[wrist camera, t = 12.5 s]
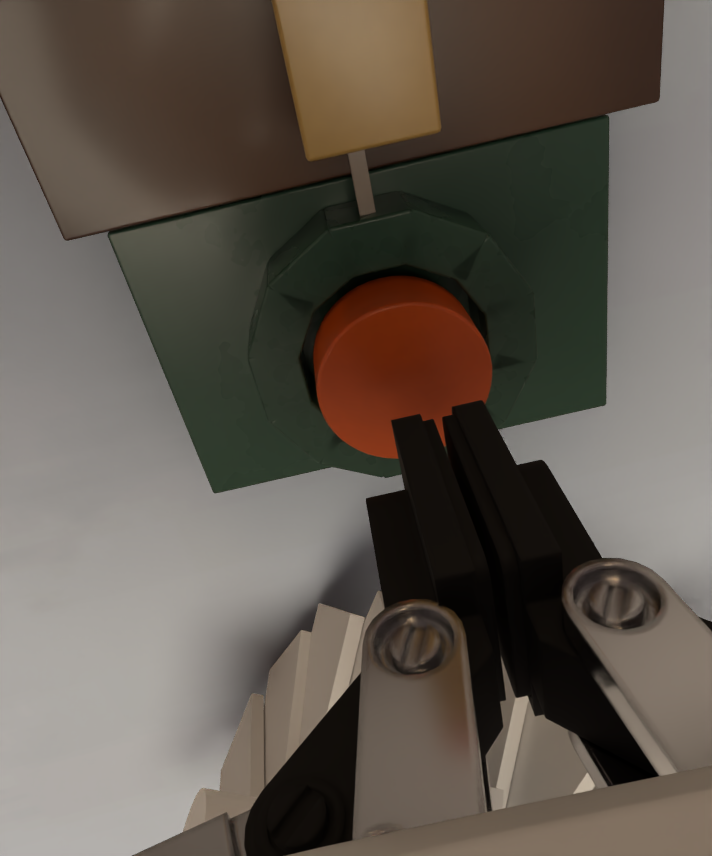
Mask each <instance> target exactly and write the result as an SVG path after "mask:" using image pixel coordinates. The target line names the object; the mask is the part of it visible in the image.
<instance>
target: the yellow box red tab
mask: <svg viewBox="0 0 712 856" xmlns="http://www.w3.org/2000/svg"><path fill="white" fill-rule="evenodd" d="M271 2H272V7H273V11H274V16H275V20H276V25H277V29H278V34H279V38H280V43H281V47H282V52H283V56H284V61H285V66H286V70H287V75H288V79H289V84H290V88H291V93H292V97H293V102H294V106H295V111H296V115H297V120H298V124H299V129H300V134H301V138H302V143H303V147H304V152H305V156H306V159H307V160H308V161H310V162H313V161H317V160H321V159H326V158H330V157H335V156H339V155H344V154H348V153H352V152H357V151H361V150H366V149H370V148H374V147H379V146H383V145H388V144H392V143H397V142H401V141H405V140H410V139H414V138H419V137H423V136H428V135H432V134H436V133H438V132H440V131H441V119H440V110H439V101H438V92H437V83H436V74H435V65H434V56H433V47H432V38H431V29H430V20H429V11H428V2H427V0H271Z"/></svg>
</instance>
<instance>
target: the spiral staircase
mask: <svg viewBox="0 0 712 856" xmlns="http://www.w3.org/2000/svg"><path fill="white" fill-rule="evenodd" d="M384 609H385V608H384V602H383V596H382V591H377V594H376V596H375V598H374V601H373V603H372V605H371V607H370V610H369V612H368V614H367V617H366V619H365V621H364V618H365V617H362V616H359V615H356V614H353V613H350V612H347V611H344V610H341V609H338V608H335V607H332V606H328V605H324V604H320V603H319V605H318V609H317V613H316V617H315V621H314V625H313V629H312V632H307V631H303V630H301V631H300V632H299V634H298V635H297V636H296V637H295V639H294V640H293V641H292V642H291V644H290V645H289V646H288V647H287V649H286V650H285V651H284V652H283V654H282V655H281V656H280V657H279V659H278V660H277V661H276V662H275V664H274V665H273V666H272V667H271V669H270V670H269V677H268V684H267V690H266V697H265V704H264V703H263V695H259V694H254V693H252V694H251V696H250V699H249V701H248V704H247V706H246V709H245V711H244V714H243V716H242V719H241V721H240V724H239V726H238V729H237V731H236V734H235V736H234V739H233V742H232V744H231V747H230V749H229V752H228V754H227V757H226V759H225V762H224V764H223V767H222V769H221V778H220V791H218V790H212V789H206V788H202V789H200V790H199V792H198V793H197V795H196V797H195V799H194V801H193V804H192V806H191V809H190V812H189V814H188V817H187V820H186V823H185V827H184V830H183V832H184V831H187V830H189V829H191V828H193V827H195V826H197V825H200V824H202V823H204V822H206V821H208V820H210V819H213V818H215V817H217V816H219V815H221V814H223V813H226V812H227V813H228V815H229V816H230V818H233V817H235V816H237V815H239V814H241V813H244V812H246V811H248V810H250V809H251V807H252V806H253V804H254V803H255V801H256V800H257V798H258V796H259V795H260V793H261V792H262V790H263V789H264V788H265V787H266V786H267V784H268V783H269V782H270V781H271V780H272V778H273V777H274V776H275V775H276V774H277V772H278V771H279V770H280V769H281V768H282V766H283V765H284V764H285V763H286V762H287V760H288V759H289V758H290V757H291V756H292V754H293V753H294V752H295V751H296V750H297V748H298V747H299V746H300V745H301V744H302V742H303V741H304V740H305V739H306V738H307V736H308V735H309V734H310V733H311V732H312V730H313V729H314V728H315V727H316V726H317V724H318V723H319V722H320V721H321V720H322V718H323V717H324V716H325V715H326V714H327V712H328V711H329V710H330V709H331V708H332V706H333V705H334V704H335V703H336V702H337V700H338V699H339V698H340V697H341V696H342V694H343V693H344V692H345V691H346V690H347V688H348V687H349V686H350V685H351V684H352V682H353V681H354V680H355V679H356V678H357V676H358V675H359V674H360V673H361V663H362V644H363V639H364V635H365V631H366V629H367V628H368V626H369V624H370V623H371V621H372V620H373V618H375V617H376V616H377V615H378V614H379V613H380V612H381V611H382V610H384ZM501 662H502V670H503V678H504V686H505V694H506V700H505V701H501V702H500V704H501V712H502V719H503V729H502V730H501V732H500V733H499V735H498V737H497V738H496V740H495V741H494V743H493V745H492V746H491V748H490V749H489V751H488V753H487V754H486V759H487V765H488V773H489V782H490V790H491V799H492V807H493V811H494V810H499V809H503V808H508V807H513V806H518V805H523V804H528V803H532V802H537V801H542V800H547V799H552V798H557V797H561V796H566V795H571V794H576V793H581V792H585V791H590V790H595V789H597V788H596V786H595V784H594V782H593V781H592V779H591V777H590V776H589V774H588V772H587V770H586V769H585V767H584V765H583V763H582V762H581V760H580V758H579V756H578V755H577V753H576V751H575V750H574V748H573V746H572V743H571V741H570V738H569V735H568V730H567V729H565V728H563V727H561V726H559V725H557V724H555V723H553V722H552V721H550V720H548V719H546V718H545V716H544V715H539V716H535V715H534V712H533V710H532V707H531V704H530V701H529V699H528V696H524V697H520V698H516V697H515V695H514V692H513V689H512V687H511V684H510V681H509V678H508V675H507V672H506V669H505V666H504V663H503V660H502V657H501Z"/></svg>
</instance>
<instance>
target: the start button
mask: <svg viewBox="0 0 712 856" xmlns="http://www.w3.org/2000/svg"><path fill="white" fill-rule="evenodd" d="M313 364H314V373H315V382H316V392H317V398H318V403H319V407H320V410H321V412H322V415H323V417H324V419H325V421H326V422H327V424H328V425H329V427H330V428H331V429H332V431H333V432H334V433H335V434H336V435H337V436H338V437H339V438H340V439H342V440H343V441H344V442H346V443H347V444H348V445H350V446H352V447H353V448H355V449H357V450H359V451H361V452H364V453H366V454H369V455H373V456H376V457H383V458H393V459H399V458H398V453H397V448H396V444H395V439H394V434H393V429H392V424H391V420H394V419H398V418H403V417H407V416H412V415H416V414H420V415H421V417H422V420H423V421H426V420H430V419H434V421H435V424H436V427H437V429H438V432H439V435H440V437H441V440H442V442H443V445H444V446H446V443H445V436H444V430H443V423H442V417H444V416H448V415H452V406H457V405H461V404H465V403H470V402H474V401H479V400H482V401H483V402H484V404H485V403H486V401H487V398H488V395H489V392H490V388H491V382H492V362H491V356H490V353H489V350H488V347H487V344H486V342H485V340H484V338H483V337H482V335H481V333H480V332H479V330H478V329H477V327H476V326H475V324H474V322H473V321H472V319H471V318H470V316H469V315H468V313H467V312H466V310H465V309H464V307H463V306H462V304H461V303H460V302H459V301H458V300H457V299H456V297H455V296H454V295H453V294H451V293H450V292H449V291H447V290H446V289H445V288H443V287H441V286H440V285H438V284H436V283H434V282H431V281H429V280H426V279H422V278H418V277H413V276H388V277H382V278H378V279H375V280H371V281H368V282H366V283H364V284H361V285H359V286H357V287H356V288H354V289H352V290H351V291H349V292H348V293H346V294H345V295H344V296H343V297H341V298H340V299H339V300H338V301H337V302H336V303H335V304H334V305H333V306H332V307H331V309H330V310H329V311H328V313H327V314H326V315H325V317H324V319H323V321H322V322H321V324H320V326H319V329H318V331H317V334H316V338H315V342H314V349H313Z"/></svg>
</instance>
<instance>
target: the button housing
mask: <svg viewBox="0 0 712 856" xmlns="http://www.w3.org/2000/svg"><path fill="white" fill-rule="evenodd" d="M368 171H369V177H370V182H371V188H372V193H373V199H374V204H375V210H376V212H375V213H371V214H367V215H362V216H360V215H359V211H358V206H357V200H356V195H355V190H354V185H353V180H352V175H351V174H349V175H345V176H341V177H337V178H332V179H328V180H324V181H320V182H315V183H311V184H307V185H303V186H298V187H294V188H290V189H286V190H281V191H277V192H273V193H269V194H264V195H260V196H256V197H252V198H247V199H243V200H239V201H235V202H230V203H226V204H222V205H218V206H213V207H209V208H205V209H201V210H196V211H192V212H188V213H184V214H179V215H175V216H171V217H167V218H162V219H158V220H154V221H150V222H146V223H141V224H137V225H133V226H129V227H124V228H120V229H116V230H112V231H109V232H108V238H109V240H110V243H111V245H112V248H113V250H114V253H115V255H116V257H117V260H118V262H119V265H120V267H121V270H122V272H123V274H124V277H125V279H126V282H127V284H128V287H129V289H130V291H131V294H132V296H133V299H134V301H135V304H136V306H137V308H138V311H139V313H140V316H141V318H142V321H143V323H144V325H145V328H146V330H147V333H148V335H149V338H150V340H151V342H152V345H153V347H154V350H155V352H156V355H157V357H158V359H159V362H160V364H161V367H162V369H163V372H164V374H165V376H166V379H167V381H168V384H169V386H170V389H171V391H172V393H173V396H174V398H175V401H176V403H177V406H178V408H179V410H180V413H181V415H182V418H183V420H184V423H185V425H186V427H187V430H188V432H189V435H190V437H191V440H192V442H193V444H194V447H195V449H196V452H197V454H198V457H199V459H200V461H201V464H202V466H203V469H204V471H205V474H206V476H207V478H208V481H209V483H210V486H211V488H212V491H213V492H214V493H219V492H224V491H228V490H233V489H237V488H242V487H246V486H250V485H255V484H259V483H264V482H268V481H272V480H277V479H281V478H286V477H290V476H295V475H299V474H303V473H308V472H312V471H317V470H321V469H325V468H330V467H336V468H340V469H345V470H350V471H354V472H359V473H364V474H368V475H373V476H378V477H383V476H384V477H385V478H388V477H392V476H396V475H401V474H402V473H401V468H400V463H399V459H393V458H383V457H376V456H373V455H369V454H366V453H364V452H361V451H359V450H357V449H355V448H353V447H352V446H350V445H348V444H347V443H346V442H344V441H343V440H342V439H340V438H339V437H338V436H337V435H336V434H335V433H334V432H333V431H332V429H331V428H330V427H329V425H328V424H327V422H326V421H325V419H324V417H323V415H322V412H321V410H320V407H319V403H318V398H317V392H316V382H315V373H314V364H313V349H314V342H315V338H316V334H317V331H318V329H319V326H320V324H321V322H322V321H323V319H324V317H325V315H326V314H327V313H328V311H329V310H330V309H331V307H332V306H333V305H334V304H335V303H336V302H337V301H338V300H339V299H340V298H341V297H343V296H344V295H345V294H346V293H348V292H349V291H351V290H352V289H354V288H356V287H357V286H359V285H361V284H364V283H366V282H368V281H371V280H375V279H378V278H382V277H388V276H413V277H418V278H422V279H426V280H429V281H431V282H434V283H436V284H438V285H440V286H441V287H443V288H445V289H446V290H447V291H449V292H450V293H451V294H453V295H454V296H455V297H456V299H457V300H458V301H459V302H460V303H461V304H462V306H463V307H464V309H465V310H466V312H467V313H468V315H469V316H470V318H471V319H472V321H473V322H474V324H475V326H476V327H477V329H478V330H479V332H480V333H481V335H482V337H483V338H484V340H485V342H486V344H487V347H488V350H489V353H490V356H491V362H492V382H491V388H490V392H489V395H488V398H487V401H486V403H485V406H486V408H487V410H488V412H489V413H490V415H491V417H492V419H493V421H494V423H495V425H496V427H497V429H502V428H507V427H511V426H515V425H520V424H524V423H529V422H533V421H537V420H542V419H546V418H551V417H555V416H560V415H564V414H568V413H573V412H577V411H582V410H586V409H590V408H595V407H599V406H604V405H606V378H607V283H608V188H609V116H608V115H605V114H604V115H600V116H596V117H591V118H587V119H583V120H579V121H574V122H570V123H566V124H562V125H557V126H553V127H549V128H545V129H540V130H536V131H532V132H528V133H523V134H519V135H515V136H511V137H506V138H502V139H498V140H494V141H489V142H485V143H481V144H477V145H472V146H468V147H464V148H460V149H455V150H451V151H447V152H443V153H438V154H434V155H430V156H426V157H421V158H417V159H413V160H409V161H404V162H400V163H396V164H392V165H387V166H383V167H379V168H375V169H371V170H368ZM444 448H445V450H446V453H447V449H446V446H444Z"/></svg>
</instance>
